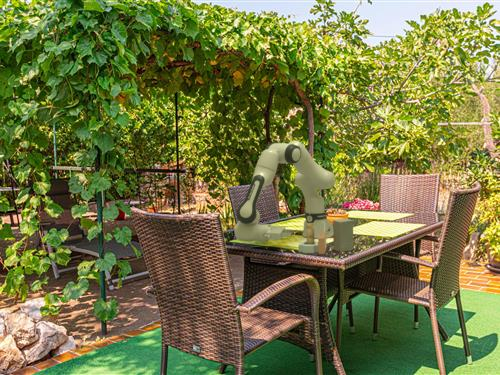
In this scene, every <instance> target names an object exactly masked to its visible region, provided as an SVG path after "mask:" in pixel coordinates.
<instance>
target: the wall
mask: <svg viewBox="0 0 500 375" xmlns="http://www.w3.org/2000/svg"><path fill="white" fill-rule="evenodd" d="M317 242H318V252H317V253H318V255H326V250H327V238H326V232H320V235H319V238H317Z"/></svg>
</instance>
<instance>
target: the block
mask: <svg viewBox="0 0 500 375" xmlns="http://www.w3.org/2000/svg"><path fill="white" fill-rule="evenodd" d="M298 253H303V254H315V253H318V241H316V240H315V244H307V240H305V241H300V242H299V243H298Z"/></svg>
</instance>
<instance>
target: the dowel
mask: <svg viewBox="0 0 500 375" xmlns="http://www.w3.org/2000/svg"><path fill="white" fill-rule="evenodd" d="M306 235H307V237H306V241H307V244H315V241H316V240H315V238H314V223H306Z"/></svg>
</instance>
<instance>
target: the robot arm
mask: <svg viewBox="0 0 500 375" xmlns="http://www.w3.org/2000/svg"><path fill="white" fill-rule="evenodd" d="M279 164H285V165H287V164H289V165H293V166H294V168H295V169H296V171H297V172H296V174H295V176H294V183H295V185H296V186H297V187H298V189H300V190H301V193H302V194H303V198H304V202H305V212H304V218H305V220H304V221H303V231H302V233H301V235H302V236H303V237H304V238H307V235H306V223H314V239H318V238H319V235H320V232H326V239H327V238H328V239H329V238H332V237H333V223H332V222H330V221H329V219H327V217H328V216H329V214H330V213H329V212H327V211H326V212H325V209H326V207H325V199H324V197H323V196H322V195H320V194H319V192H318V190H327V189H332V188H333V187H334V186H335V184H336V183H335V182H336V177H335V175H334V173H333V172H332V171H329V170H327V169H325V168H324V167H322V166H321V165H320V164H319V163H317V162H316V161H315V159H313V157H312V155H311V154H310V152H309V151H308V149H307V148H306V146H304V145H303V143H301V142H300V141H299V140H292V141H290V142H288V143H286V142H271V143H268V144H267V145H266V147H265V149H264V150H263V151H262V152H261V153H260V155H259V158H258V160H257V163H256V165H255V168H254V171H253V175H252V179H251V183H250V185H249V187H248V189H247V193H246V196H245V198H244V200H243V202H242V203H241V204H240V205H239V206H238V208H237V209H236V217H237V220H238V221H237V223H236V224H235V225H234V227H233V234H234V236H235V239H236V240H238V241H240V242H241V241H242V242H264V243H265V242H269V241H270V240H273V241H279V240H282V238H290V237H291V236H292V234H293V233H294V230H293V229H289V228H288V229H286V227H285V226H280V225H271V224H260V219H261V214H260V211H259V210H258V209H257V204H258V201H259V198H260V195H261V193H262V191H263V190H264V189H265V188H266V187H268V186H271V183H272V182H273V181H274V179H275V176H276V173H277V170H278V166H279Z"/></svg>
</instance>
